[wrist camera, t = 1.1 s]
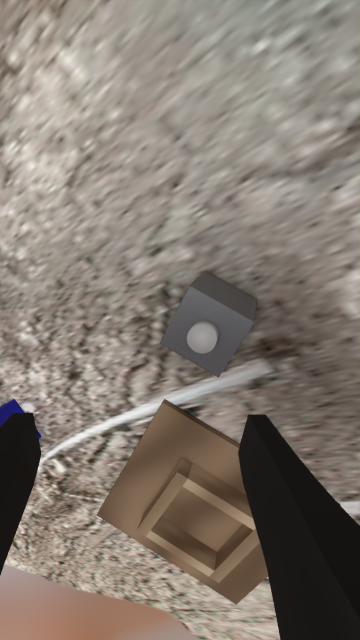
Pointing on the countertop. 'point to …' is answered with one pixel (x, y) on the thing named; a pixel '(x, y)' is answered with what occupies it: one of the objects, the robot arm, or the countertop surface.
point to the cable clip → (11, 407)
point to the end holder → (189, 503)
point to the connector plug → (210, 323)
